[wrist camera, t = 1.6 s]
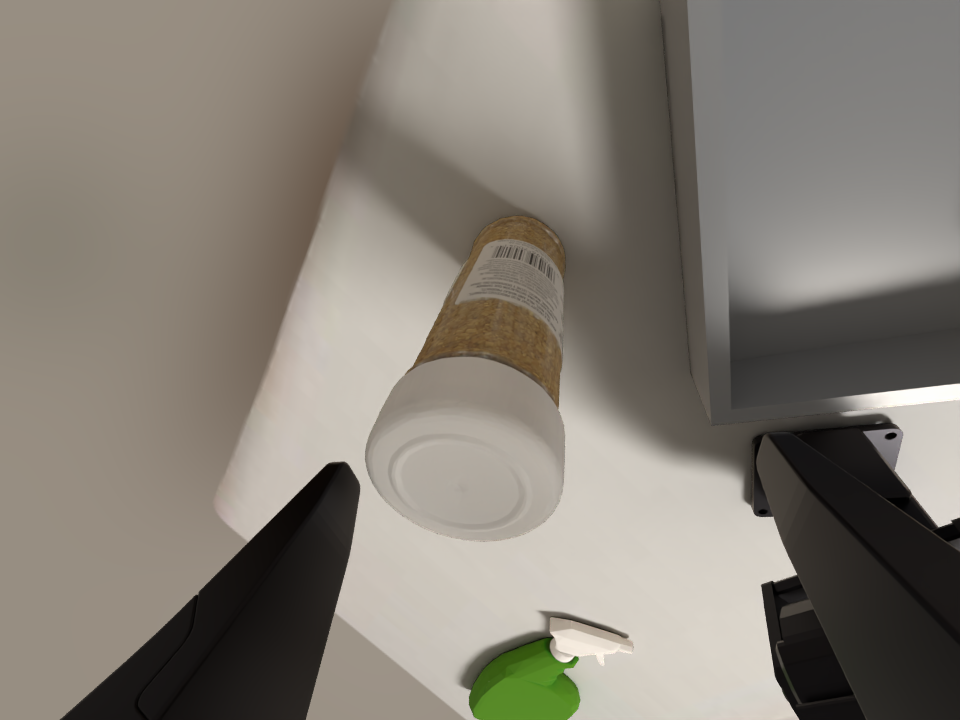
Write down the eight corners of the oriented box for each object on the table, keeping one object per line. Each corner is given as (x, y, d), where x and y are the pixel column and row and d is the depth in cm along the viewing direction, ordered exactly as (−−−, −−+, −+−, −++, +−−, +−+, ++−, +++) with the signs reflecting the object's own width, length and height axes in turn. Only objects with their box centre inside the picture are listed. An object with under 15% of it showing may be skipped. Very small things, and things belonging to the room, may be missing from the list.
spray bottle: (464, 684, 52) (533, 594, 38) (548, 712, 53) (647, 631, 39) (459, 714, 50) (531, 629, 36) (547, 742, 50) (652, 668, 36)
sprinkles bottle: (453, 265, 21) (325, 481, 10) (513, 190, 18) (428, 367, 8) (524, 321, 22) (478, 571, 11) (589, 257, 19) (612, 497, 9)
